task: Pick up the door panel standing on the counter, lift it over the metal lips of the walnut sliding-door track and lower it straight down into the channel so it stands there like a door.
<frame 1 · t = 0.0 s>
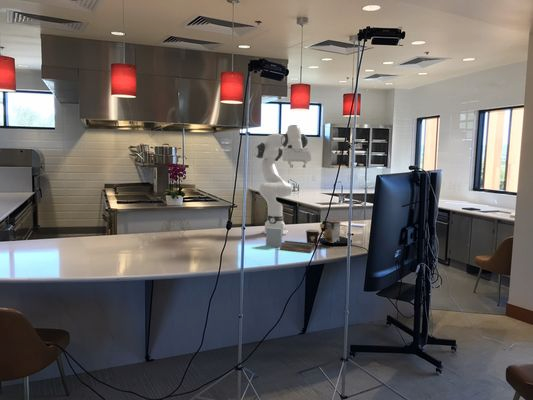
hand: (298, 167, 306), 52 cm above the countertop, tool tilted 20°, fingers open, 8 cm apart
door track: (297, 249, 295), on the countertop
coffee mug: (313, 245, 308), on the countertop
door panel: (273, 246, 302), on the countertop
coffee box: (331, 244, 313), on the countertop
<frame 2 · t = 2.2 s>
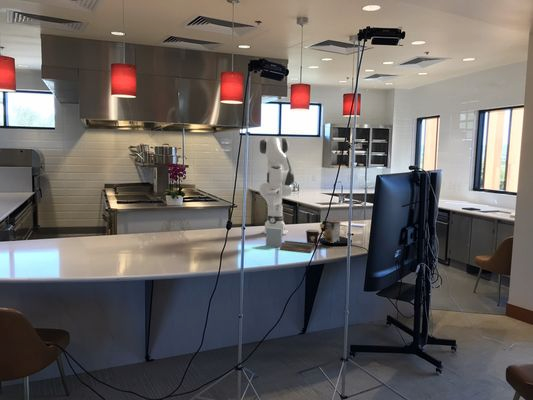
hand: (274, 211, 300), 23 cm above the countertop, tool pointing down, fingers open, 8 cm apart
nothing on the countertop moved.
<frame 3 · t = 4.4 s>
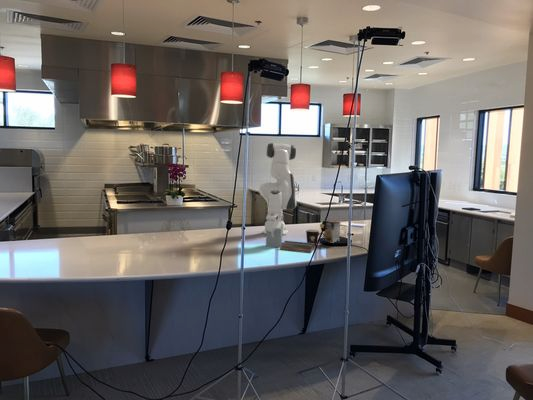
hand: (274, 236, 302), 7 cm above the countertop, tool pointing down, fingers closed on door panel, 3 cm apart
door panel: (273, 246, 302), on the countertop, touching gripper
everything else where it was.
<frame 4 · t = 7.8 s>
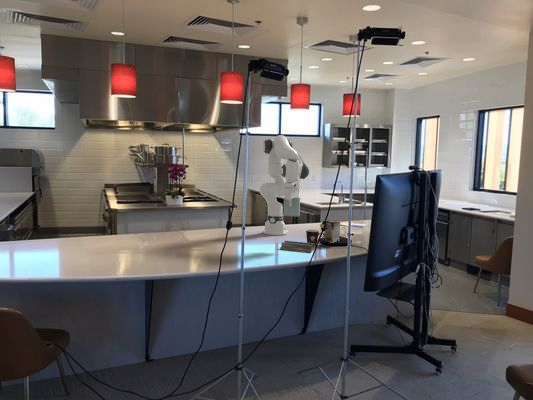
hand: (291, 205, 294), 28 cm above the countertop, tool pointing down, fingers closed on door panel, 3 cm apart
door panel: (291, 215, 294), point 21 cm above the countertop, touching gripper
everything else where it was.
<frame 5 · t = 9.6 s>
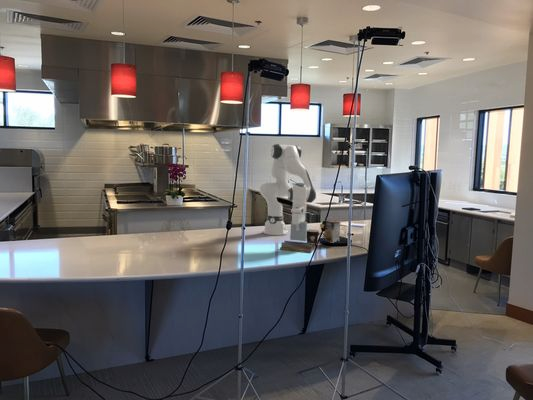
hand: (298, 229, 294), 13 cm above the countertop, tool pointing down, fingers closed on door panel, 3 cm apart
door panel: (298, 240, 294), point 6 cm above the countertop, touching gripper
everything else where it was.
when the fingers open (10 cm above the countertop, at t = 10.9 s): door panel drops 1 cm, resting on door track.
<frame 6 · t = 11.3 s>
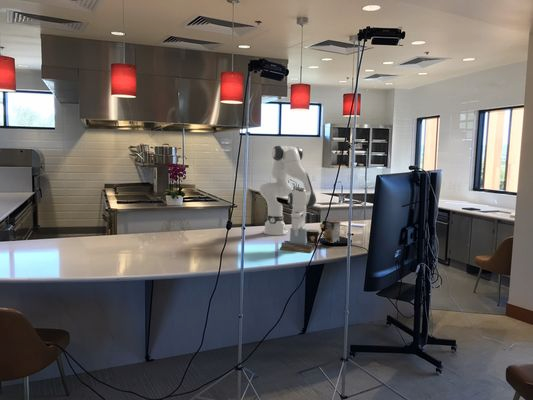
hand: (298, 234, 294), 10 cm above the countertop, tool pointing down, fingers open, 7 cm apart
door panel: (297, 246, 295), point 1 cm above the countertop, touching door track
everything else where it was.
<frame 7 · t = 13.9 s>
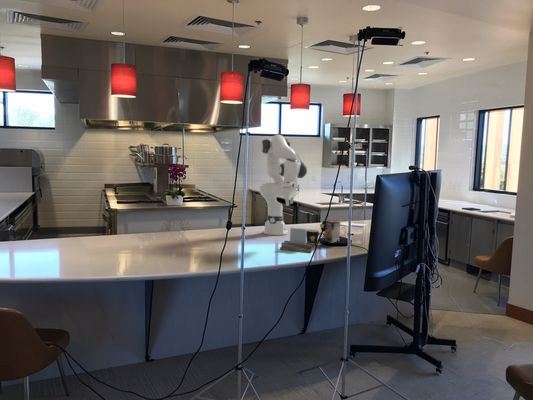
hand: (289, 204, 297), 28 cm above the countertop, tool pointing down, fingers open, 8 cm apart
nothing on the countertop moved.
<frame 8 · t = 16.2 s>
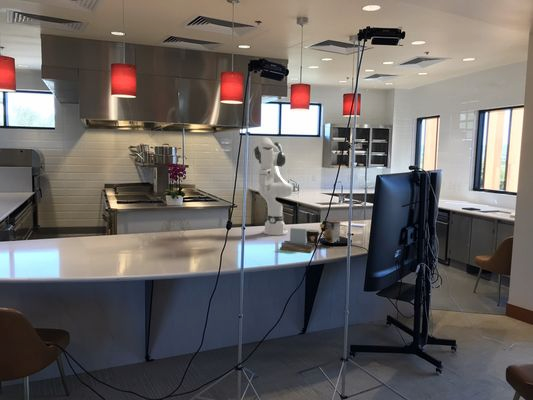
hand: (266, 191, 309), 35 cm above the countertop, tool pointing down, fingers open, 8 cm apart
nothing on the countertop moved.
at the end: door panel inside the target area on the door track (0.1 cm from its centre), point 1.5 cm above the door track's base; door panel tilted 0°; the gripper is holding nothing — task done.
